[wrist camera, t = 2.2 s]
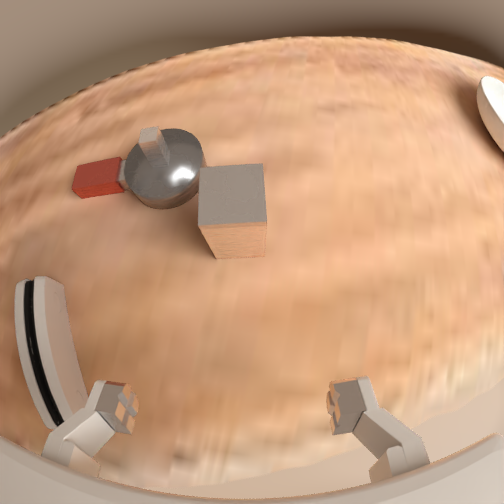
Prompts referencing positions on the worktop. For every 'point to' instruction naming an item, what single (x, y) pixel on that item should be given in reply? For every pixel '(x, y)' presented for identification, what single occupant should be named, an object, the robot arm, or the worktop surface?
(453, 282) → the worktop surface
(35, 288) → the grey black slotted block
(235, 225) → the grey block
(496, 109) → the serving bowl
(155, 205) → the grey dome with handle
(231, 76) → the worktop surface
